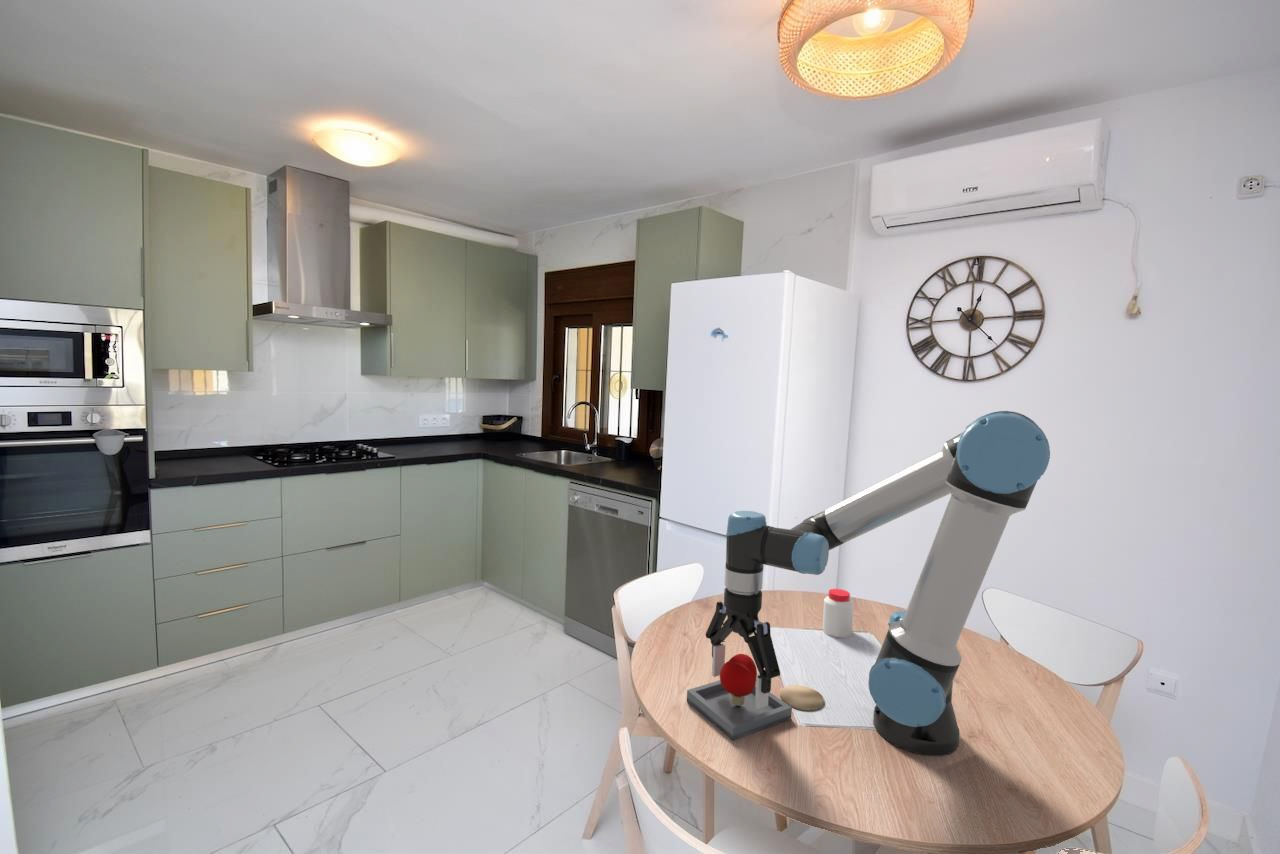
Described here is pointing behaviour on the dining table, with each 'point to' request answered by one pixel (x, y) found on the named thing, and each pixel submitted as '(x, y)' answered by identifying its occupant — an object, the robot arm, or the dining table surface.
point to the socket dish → (737, 710)
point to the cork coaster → (801, 697)
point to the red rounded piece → (739, 677)
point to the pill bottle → (838, 614)
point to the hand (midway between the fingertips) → (738, 690)
